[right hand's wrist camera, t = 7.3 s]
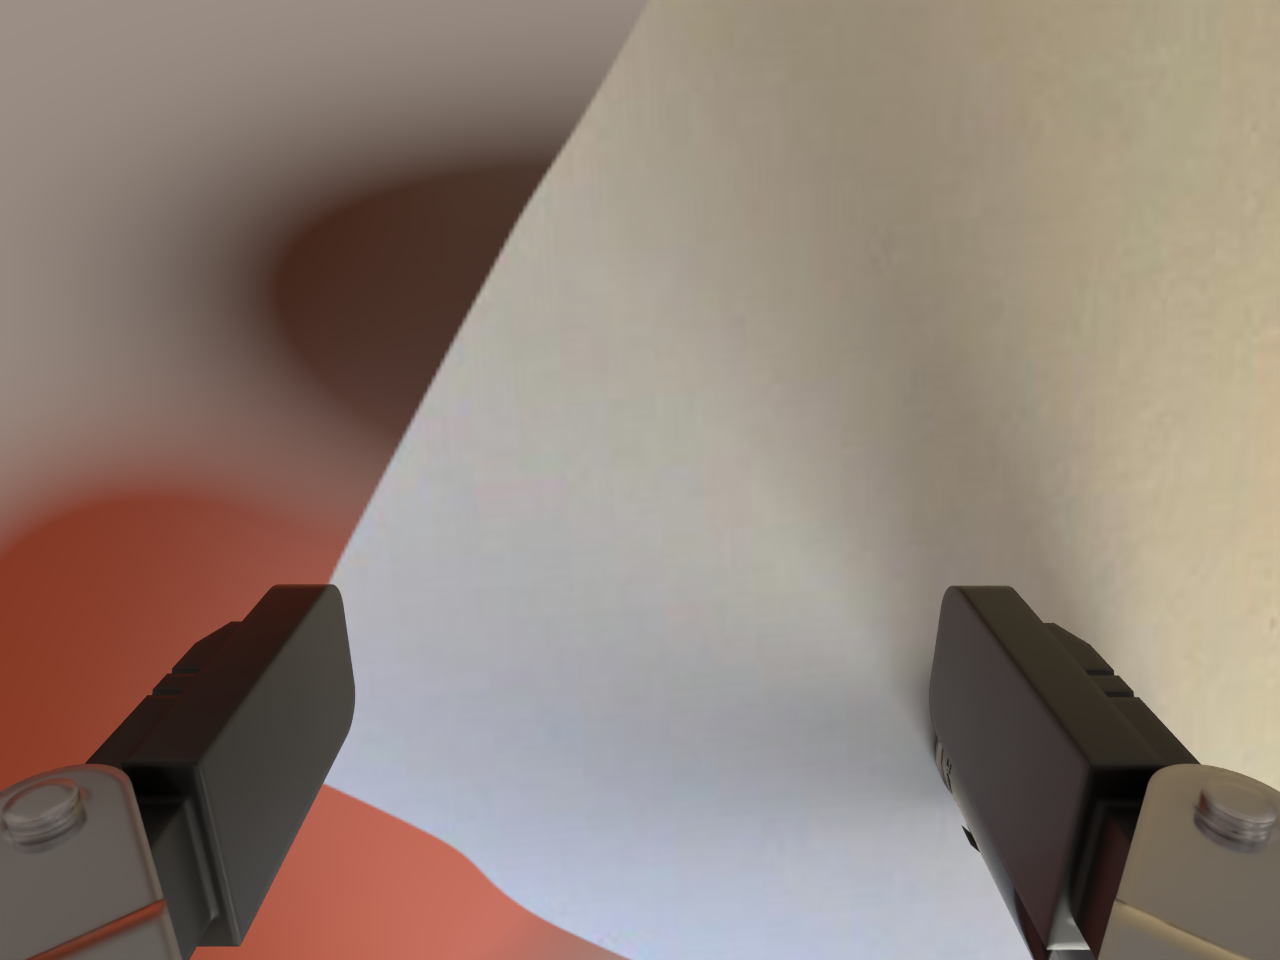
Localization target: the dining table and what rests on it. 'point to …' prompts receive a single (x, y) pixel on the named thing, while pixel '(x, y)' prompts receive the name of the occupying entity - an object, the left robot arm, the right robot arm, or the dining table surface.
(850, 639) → the dining table surface
